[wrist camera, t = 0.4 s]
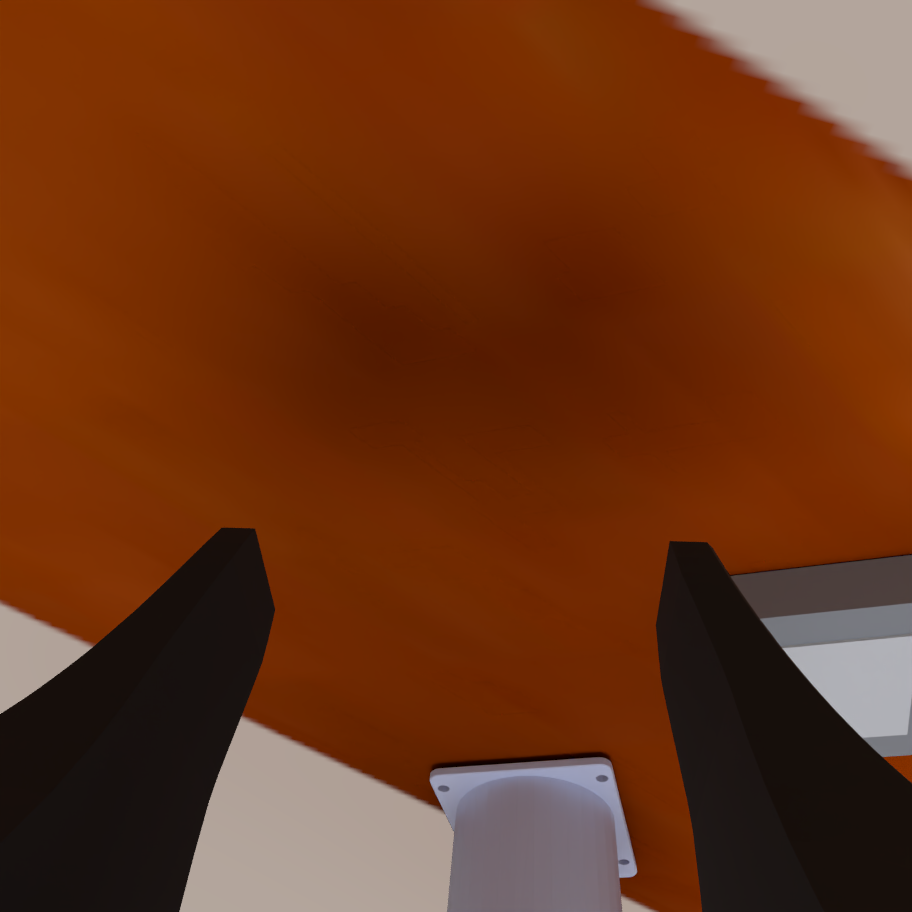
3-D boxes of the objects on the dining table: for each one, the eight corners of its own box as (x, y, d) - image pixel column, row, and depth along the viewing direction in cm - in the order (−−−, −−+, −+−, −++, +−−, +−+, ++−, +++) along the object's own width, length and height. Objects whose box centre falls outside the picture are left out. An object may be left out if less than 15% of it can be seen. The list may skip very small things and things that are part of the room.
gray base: (923, 705, 29) (947, 755, 28) (704, 722, 31) (714, 770, 29) (944, 551, 25) (973, 599, 23) (687, 580, 27) (697, 627, 25)
